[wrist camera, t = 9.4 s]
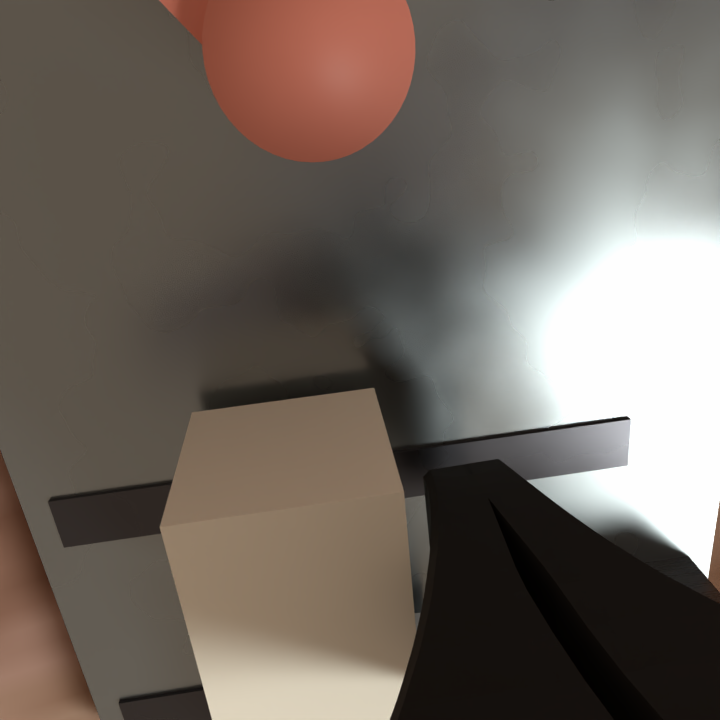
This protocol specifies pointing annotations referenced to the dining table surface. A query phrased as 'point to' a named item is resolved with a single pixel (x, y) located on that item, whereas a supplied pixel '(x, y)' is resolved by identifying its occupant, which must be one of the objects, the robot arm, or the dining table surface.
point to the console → (357, 287)
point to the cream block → (293, 559)
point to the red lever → (305, 69)
